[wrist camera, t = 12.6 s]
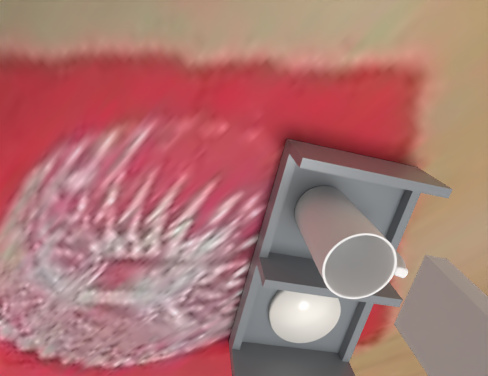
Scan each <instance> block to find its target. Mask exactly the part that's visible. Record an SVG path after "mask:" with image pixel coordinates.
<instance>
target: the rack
mask: <svg viewBox="0 0 488 376" xmlns="http://www.w3.org/2000/svg"><path fill="white" fill-rule="evenodd" d="M318 186H330V187H333V188H336V189H338V190H339V191H340V192H341V193H342V194H343V195H344V196H345V197H346V198H347V199H348V200H349V201H350V202H351V203H352V204H353V205H354V206H355V207H356V208H357V209H358V210H359V211H360V212H361V213H362V214H363V215H364V216H365V217H366V218H367V219H368V220H369V221H370V222H371V223H372V224H373V225H374V226H375V227H376V228H377V229H378V230H379V231H380V232H381V233H382V235H383V236H384V237H385V238H386V239H387V240H388V241H389V242H390V243H391V244H392V246H393V247H394V249H395V250H397V247H398V245H399V243H400V240H401V238H402V236H403V233H404V231H405V229H406V226H407V224H408V221H409V219H410V217H411V214H412V212H413V210H414V207H415V205H416V203H417V200H418V198H419V196H420V193H425V194H430V195H435V196H439V197H444V198H449V196H450V194H451V191H452V189H451V188H450V187H448V186H446V185H445V184H443V183H442V182H440V181H438V180H437V179H435V178H434V177H432V176H430V175H429V174H427V173H426V172H424V171H422V170H421V169H419V168H418V167H414V166H410V165H405V164H401V163H396V162H392V161H387V160H383V159H378V158H373V157H369V156H364V155H360V154H355V153H351V152H346V151H342V150H337V149H332V148H328V147H323V146H319V145H314V144H310V143H305V142H301V141H296V140H291V139H287V140H286V144H285V147H284V150H283V154H282V157H281V161H280V164H279V168H278V171H277V175H276V178H275V182H274V185H273V189H272V192H271V196H270V199H269V203H268V206H267V209H266V213H265V216H264V220H263V223H262V227H261V230H260V234H259V237H258V241H257V244H256V248H255V251H254V255H253V258H252V261H251V265H250V268H249V272H248V275H247V279H246V282H245V286H244V289H243V293H242V296H241V300H240V303H239V307H238V310H237V313H236V317H235V320H234V324H233V327H232V331H231V334H230V338H229V350H230V359H231V369H232V376H355V374H354V372H353V370H352V368H351V366H350V364H349V361H350V358H351V356H352V353H353V351H354V349H355V346H356V344H357V342H358V339H359V337H360V335H361V332H362V330H363V328H364V325H365V323H366V320H367V318H368V316H369V313H370V311H371V309H372V306H373V304H381V305H388V306H395V307H400V304H401V302H402V298H401V297H400V296H399V295H398V293H397V292H396V291H395V289H394V288H393V287H392V285H391V284H390V283H389V282H388V284H387V285H386V286H385V287H383V288H382V289H381V290H380V291H378V292H376V293H375V294H373V295H370V296H368V297H365V298H360V299H347V298H342V297H339V296H337V295H335V294H334V293H332V292H331V291H330V290H329V289H328V288H327V286H326V285H325V283H324V280H323V278H322V276H321V274H320V273H319V271H318V268H317V266H316V264H315V262H314V260H313V258H312V255H311V253H310V251H309V249H308V247H307V245H306V242H305V240H304V238H303V236H302V234H301V232H300V229H299V227H298V225H297V222H296V219H295V207H296V204H297V202H298V200H299V199H300V197H301V196H302V195H303V194H304V193H305V192H307V191H308V190H310V189H312V188H314V187H318ZM278 290H284V291H291V292H298V293H305V294H312V295H319V296H325V297H332V298H338V300H339V302H340V306H341V312H340V317H339V320H338V322H337V324H336V325H335V327H334V328H333V329H332V330H331V331H330V332H329V333H328V334H326V335H325V336H323V337H322V338H320V339H318V340H315V341H312V342H308V343H293V342H289V341H286V340H284V339H282V338H281V337H279V336H278V335H277V334H276V333H275V332H274V330H273V329H272V326H271V323H270V319H269V314H268V310H269V304H270V302H271V299H272V298H273V296H274V295H275V293H276V292H277V291H278Z"/></svg>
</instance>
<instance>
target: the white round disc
mask: <svg viewBox="0 0 488 376" xmlns="http://www.w3.org/2000/svg"><path fill="white" fill-rule="evenodd" d="M340 312H341V306H340V302H339V300H338V298H332V297H325V296H319V295H312V294H305V293H298V292H291V291H284V290H278V291H277V292H276V293H275V295H274V296H273V298H272V299H271V302H270V304H269V310H268V314H269V319H270V323H271V326H272V329H273V330H274V332H275V333H276V334H277V335H278V336H279V337H281V338H282V339H284V340H286V341H289V342H293V343H308V342H312V341H315V340H318V339H320V338H322V337H323V336H325V335H326V334H328V333H329V332H330V331H331V330H332V329H333V328H334V327H335V325H336V324H337V322H338V320H339V317H340Z"/></svg>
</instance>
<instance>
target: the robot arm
mask: <svg viewBox="0 0 488 376" xmlns="http://www.w3.org/2000/svg"><path fill="white" fill-rule="evenodd" d="M394 325H395V326H396V328H397V329H398V331H399V332H400V334H401V335H402V337H403V338H404V340H405V341H406V343H407V344H408V346H409V347H410V349H411V350H412V352H413V353H414V355H415V356H416V358H417V359H418V361H419V362H420V364H421V365H422V367H423V368H424V370H425V371H426V373H427V374H428V376H488V296H487V295H485V294H484V293H483V292H482V291H481V290H480V289H479V288H478V287H477V286H476V285H475V284H473V283H472V282H471V281H470V280H469V279H468V278H467V277H466V276H465V275H464V274H463V273H462V272H460V271H459V270H458V269H457V268H456V267H455V266H454V265H453V264H452V263H451V262H450V261H448V260H447V259H445V258H440V257H434V256H428V255H425V257H424V260H423V262H422V264H421V266H420V268H419V271H418V273H417V275H416V277H415V279H414V282H413V284H412V286H411V288H410V290H409V293H408V295H407V297H406V299H405V301H404V304H403V306H402V308H401V310H400V312H399V315H398V317H397V319H396V321H395V323H394Z"/></svg>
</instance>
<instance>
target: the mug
mask: <svg viewBox="0 0 488 376" xmlns="http://www.w3.org/2000/svg"><path fill="white" fill-rule="evenodd" d="M295 219H296V222H297V225H298V227H299V229H300V232H301V234H302V236H303V238H304V240H305V242H306V245H307V247H308V249H309V251H310V253H311V255H312V258H313V260H314V262H315V264H316V266H317V268H318V271H319V273H320V274H321V276H322V278H323V280H324V283H325V285H326V286H327V288H328V289H329V290H330V291H331V292H332V293H334V294H335V295H337V296H339V297H342V298H347V299H360V298H365V297H368V296H370V295H373V294H375V293H376V292H378V291H380V290H381V289H382V288H383V287H385V286H386V285H387V284H388V282H389V281H390V280H391V278H392V277H393V275H395V276H398V277H401V278H405V277H406V276H407V274H408V269H406V266H405V262H404V260H403V259H402V257H401V256H400V255H399V253H398V252H397V251H396V250H395V249H394V247H393V246H392V244H391V243H390V242H389V241H388V240H387V239H386V238H385V237H384V236H383V235H382V233H381V232H380V231H379V230H378V229H377V228H376V227H375V226H374V225H373V224H372V223H371V222H370V221H369V220H368V219H367V218H366V217H365V216H364V215H363V214H362V213H361V212H360V211H359V210H358V209H357V208H356V207H355V206H354V205H353V204H352V203H351V202H350V201H349V200H348V199H347V198H346V197H345V196H344V195H343V194H342V193H341V192H340V191H339V190H338V189H336V188H333V187H330V186H318V187H314V188H312V189H310V190H308V191H307V192H305V193H304V194H303V195H302V196H301V197H300V199H299V200H298V202H297V204H296V207H295Z"/></svg>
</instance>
